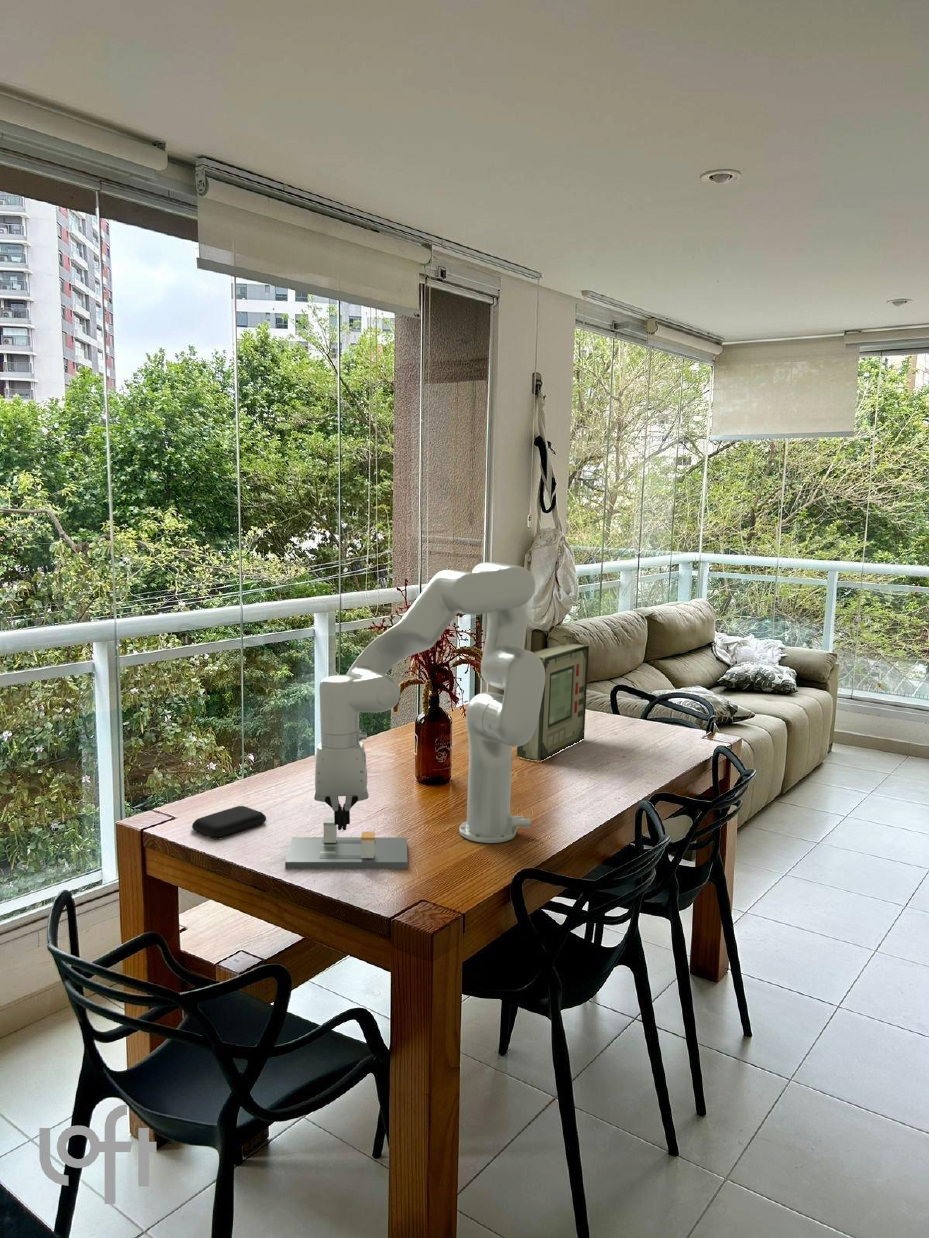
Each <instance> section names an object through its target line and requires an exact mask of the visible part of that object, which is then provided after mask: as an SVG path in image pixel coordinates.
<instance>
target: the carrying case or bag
mask: <svg viewBox="0 0 929 1238" xmlns="http://www.w3.org/2000/svg"><path fill="white" fill-rule="evenodd" d="M266 821H267V816H266V815H265V814H264V813H263V812H261V811H259V810H256V809H253V808H250V807H248V806H245V805H237V806H235V807H234V806H233V807H231V808H227V809H224V810H221V811H218V812H214V813H211V814H208V815H205V816H202V817H199V818H197V819H195V820H194V822H192V825H191V828H192V829H193V831H195V832H196V833H197V834H200V835H202V836H205V837H207V836H208V838H211V839H212V838H213V840H221V839H220V838H222V839H226V838H228V837H232V836H235V835H237V834H240V833H243V832H246V831H249V830H252V829H255V828H257V827H260V826H262V825H264V823H265V822H266Z"/></svg>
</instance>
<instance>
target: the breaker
mask: <svg viewBox="0 0 929 1238" xmlns="http://www.w3.org/2000/svg"><path fill="white" fill-rule="evenodd" d="M337 833H338V825H335V823H334V816H333V817H328V816H327V817H326V816H325V817H324V819H323V837H324V843H336V838H337V836H338V834H337Z"/></svg>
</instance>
